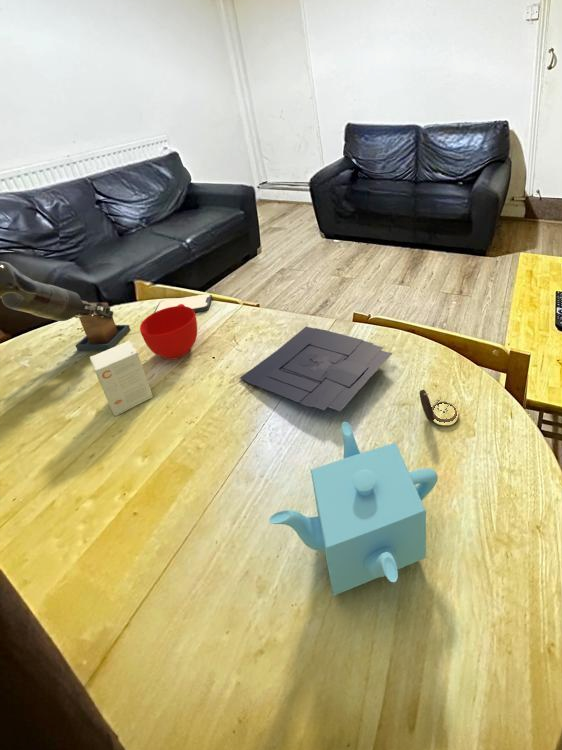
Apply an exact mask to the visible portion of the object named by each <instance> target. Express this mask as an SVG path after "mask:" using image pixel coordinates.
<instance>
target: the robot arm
mask: <svg viewBox="0 0 562 750" xmlns="http://www.w3.org/2000/svg"><path fill="white" fill-rule="evenodd" d="M0 299H1V302H2V304H3V305H4V306H5V307H7V308H8V309H10V310H14V311H19V312H23V313H26V314H27V313H28V314H31V315H33V316H36V317H38V318H44V319H49V320H54V321H58V322H65V321H66V322H67V321H69V320H71V319H79V317H83V316H84V317H90V318H92V317H100V318H105V319H112V317H113V318H114V311H113V310H111V306H109V305H108V306H109V307H108V306H106V305H104V304H102V303H103V302H96V303H97V304H92V303H93V302H88V301H86V300H82V298H81V296H80V294H78V293H77V292H75V291H73V290H71V289H70V290H69V289H67V288H63V287H60V286H57V285H53V284H48V283H44V282H41V281H38V280H35V279H32V278H31V277H29V276H28V275H26V274H25V273H23V272H22V271H20V270H19V269H18V268H17V267H15V266H14V265H12V264H11V263H9V262H6V261H0ZM90 311H91V314H90V315H89V313H90Z"/></svg>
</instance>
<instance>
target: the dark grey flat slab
mask: <svg viewBox="0 0 562 750" xmlns="http://www.w3.org/2000/svg"><path fill="white" fill-rule="evenodd" d="M383 349H384V347H383V346H381V345H376V344H374V343H373V342H371V341H366V340H364V339H361V338H358V337H355V336H354V337H353V336H350V335H346V334H342V333H337V332H334V331H331V330H326V329H321V328H318V327H317V328H316V327H311V326H305V327H304V328H302V329H301V330H300V331H299V332H298V333H296V334H295V335H294V336H293V337H291V338H289V340H288V341H286V343H284V344H283V345H282V346H280V347H279V348H278V349H277V350H276V351H274V352H272V353H271V354H270V355H268V356H266V358H264V359H263V360H261V362H259V363H258V364H257V365H255V366H253V367H252V368H251V369H249V370H248V371H246V373H244V374H243V375H241V376H240V377H239V379H240V380H243V381H244V382H246V383H248V384H250V385H253V386H256V387H258V388H260V389H261V388H262V389H264V390H266V391H269V392H272V393H274V394H276V395H279V396H281V397H284V398H287V399H289V400H292V401H293V402H297V403H299V404H300V405H303V406H306V407H309V408H311V407H314V408H317V409H320V410H322V411H325V410H327V408H330V409H333V410H336V411H339V412H342V410H343V409H344V408H345V407H346V406H347V405H348V403H350V401H351V400H352V399H353V398H354V397H355V395H357V393H358V392H359V391H360V390H361V389H362V387H363V386H364V385H365V384H367V382H368V381H369V379H371V377H372V376H373V375H374V374H375V373H376V372H377V371H378V370H380V367H381V366H383V365H384V364H385V363H386V361H387V360H388V359H389V358H390V357H391V356H392V355H393V353H392V352H389V351H384V350H383Z"/></svg>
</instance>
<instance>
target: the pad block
mask: <svg viewBox="0 0 562 750" xmlns="http://www.w3.org/2000/svg"><path fill="white" fill-rule="evenodd" d="M91 303H92V304H97V303H98V302H91ZM101 303H102V304H104V305H106V306H108V307H110V305H109V303H108V302H101ZM90 314H91V311H90V313H89V315H90ZM78 319H79V321H80V324H81V326H82V329H83V331H84V334H85V336H87V339H88V341H89V343H90V344H99V343H108V342H109V341H110V340H111V339H112V338H113V337H114V336H115V335H116V334H117V333H118V330H117V328H116V325H117V324H116V322H115V320H114V316H113V317H112V319H105V318H100V317H92V318H90V317H84V316H83V317H79V318H78Z"/></svg>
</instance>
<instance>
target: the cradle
mask: <svg viewBox="0 0 562 750" xmlns="http://www.w3.org/2000/svg"><path fill="white" fill-rule="evenodd" d="M115 325H116V328H117V330H118V333H117V334H116V335H115V336H114V337H113V338H112V339H111V340H110V341H109V342H108V343H99V344H90V343H89V341H88V339H87V336H86V335H85V336H84V337H83V338H82V339H81V340H79V342H77V343H76V344H75V345H74V346H75V349H76V350H77V351H76V352H103V351H106V350H108V349H111V348H113V347H115V346H118V345H119V344H118V343H120V342H121V341H122V340H123V339H124V338H125V337H126V336H127V334H128V333H130V331H131V327H130V324H115Z"/></svg>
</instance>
